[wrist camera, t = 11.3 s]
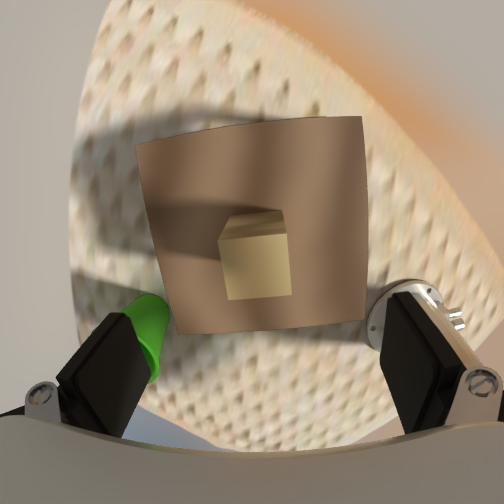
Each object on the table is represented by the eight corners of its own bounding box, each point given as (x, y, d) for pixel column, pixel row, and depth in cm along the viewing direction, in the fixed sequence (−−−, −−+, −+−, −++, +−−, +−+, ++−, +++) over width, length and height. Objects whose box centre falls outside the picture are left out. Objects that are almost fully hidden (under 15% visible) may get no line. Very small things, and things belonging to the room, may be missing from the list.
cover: (323, 126, 29) (391, 108, 12) (332, 254, 35) (383, 360, 17) (188, 143, 31) (95, 148, 13) (209, 266, 36) (160, 375, 18)
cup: (115, 285, 38) (76, 327, 28) (171, 275, 37) (139, 323, 27) (138, 336, 41) (109, 384, 31) (191, 331, 40) (170, 386, 30)
